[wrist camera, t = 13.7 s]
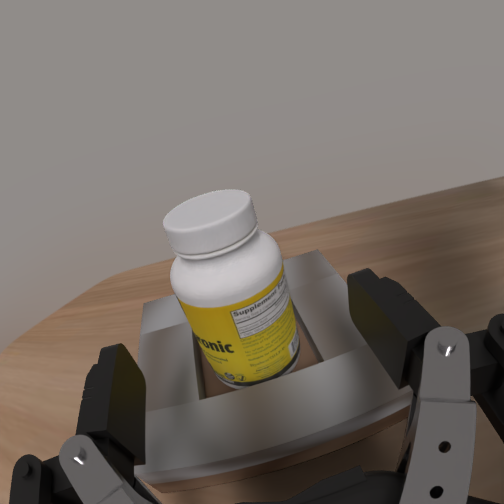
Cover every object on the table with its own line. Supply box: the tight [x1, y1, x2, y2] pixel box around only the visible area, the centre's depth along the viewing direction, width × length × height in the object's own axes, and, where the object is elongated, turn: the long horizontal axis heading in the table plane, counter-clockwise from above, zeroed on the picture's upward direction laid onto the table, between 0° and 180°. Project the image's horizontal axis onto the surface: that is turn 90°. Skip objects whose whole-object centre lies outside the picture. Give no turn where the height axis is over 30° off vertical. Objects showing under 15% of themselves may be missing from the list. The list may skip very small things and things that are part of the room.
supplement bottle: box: [163, 189, 300, 390], centre depth 16 cm, size 5×5×10 cm
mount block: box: [134, 249, 413, 493], centre depth 18 cm, size 14×14×3 cm
